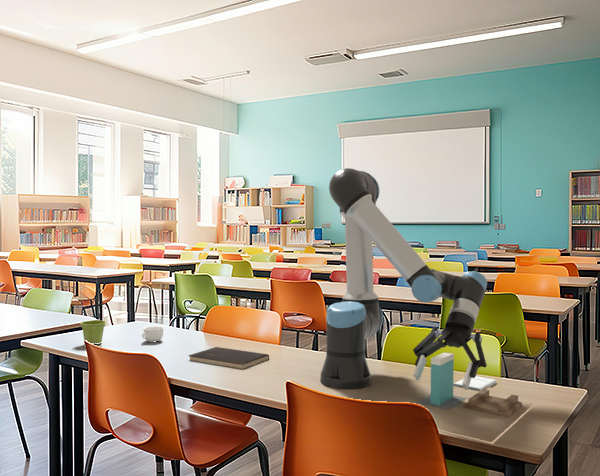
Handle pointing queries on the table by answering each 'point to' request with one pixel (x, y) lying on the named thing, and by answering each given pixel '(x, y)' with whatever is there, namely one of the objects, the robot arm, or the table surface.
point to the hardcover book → (229, 357)
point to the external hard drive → (477, 383)
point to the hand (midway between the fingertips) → (440, 382)
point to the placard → (442, 378)
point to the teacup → (153, 333)
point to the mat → (445, 405)
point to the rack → (493, 403)
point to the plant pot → (93, 330)
